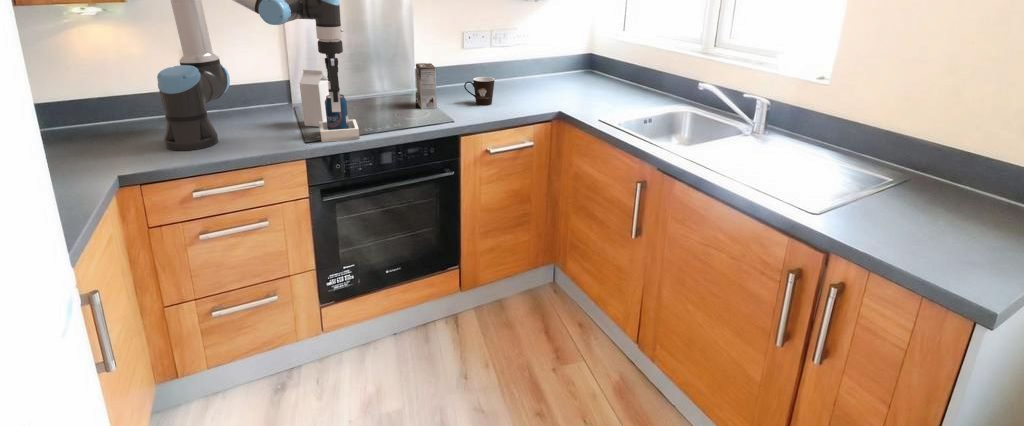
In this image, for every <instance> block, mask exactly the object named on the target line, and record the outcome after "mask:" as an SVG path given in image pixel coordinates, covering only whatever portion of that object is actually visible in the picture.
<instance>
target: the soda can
mask: <svg viewBox="0 0 1024 426" xmlns="http://www.w3.org/2000/svg"><path fill="white" fill-rule="evenodd" d="M340 105H341V112H332V105H331V95H327V96H326V100H325V109H326V118H327V127H328V130H338V129H349V122H348V120H349V113H348V103H347V99H346V97H345V95H344V94H340Z"/></svg>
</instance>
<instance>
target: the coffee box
mask: <svg viewBox="0 0 1024 426" xmlns="http://www.w3.org/2000/svg"><path fill="white" fill-rule="evenodd" d="M436 70H437V69H436V66H434V65H433V63H431V62H429V63H423V62H422V63H421V62H419V63H415V74H416V75H415V76H416V87H417V88H416V90H417V92H416V93H417V104H418V107H420V109H421V110H429V109H437V105H438V104H437V75H436V74H437V71H436Z"/></svg>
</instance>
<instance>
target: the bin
mask: <svg viewBox="0 0 1024 426" xmlns="http://www.w3.org/2000/svg"><path fill="white" fill-rule="evenodd" d="M348 122H349V129H338V130H328V127H327V121H324V122H319V126H320V127H319V133H320V138H321V142H322V143H328V142H341V141H351V140H354V141H355V140H360V130H359V126H358V123H357V120H356V119H348Z"/></svg>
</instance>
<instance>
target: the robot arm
mask: <svg viewBox="0 0 1024 426" xmlns="http://www.w3.org/2000/svg"><path fill="white" fill-rule="evenodd" d="M232 1H233V2H235V3H236V4H238V5H240V6H242V7H244V8H246V9H247V10H250V11H252V12H254V13H256V14H258V15H259V17H260V18H261V19H262V20H263V22H265V23H266V24H268V25H271V26H280V25H285V24H286V23H289V22H292V21H295V20H313V21H314V20H315V21H314V22H315V31H316V38H317V50H318V53H319V54H322V55H325V57H324V64H325V68H326V73H327V74H326V75H327V76H326V78H327V79H328V88H329V89H328V91H329V95H331V105H332V112H341V105H340V85H339V84H340V80H339V59H338V57H336V54H337V55H338V54H342V53H343V52H344V48H343V41H342V38H343V35H342V33H343V32H344V29H343V28H342V23H341V3H340V0H232ZM170 4H171V8H172V13H173V17H174V20H175V26H176V30H177V35H178V37H179V38H178V39H179V43H180V47H181V50H182V51H181V52H182V57H181V58H180V59H179V65H175V66H169V67H166V68H163V69H162V70H160V71H159V72H158V73H157V75H156V79H157V87H158V90H159V95H160V98H161V99H160V100H161V103H162V107H163V112H164V116H165V122H166V124H165V131H164V138H163V141H164V146H165V148H166V149H168V150H172V151H195V150H201V149H205V148H209V147H212V146H214V145H216V144H217V143H219V136H218V133H217V131H216V129H215V127H214V125H213V124H212V122H211V121H210V118H209V116H208V111H207V105H206V104H208V103H210V102H211V101H214V100H215V101H216V99H220V97H223V95H224V94H225V93H227V91H228V90H229V88H230V82H231V80H230V74H229V72H228V69H226V67H224V66H223V64H222V63H221V61H220V58H219V57H220V56H218V55H216V54H215V53H214V52H213V48H212V43H211V38H210V33H209V28H208V24H207V19H206V16H205V11H204V7H203V2H202V0H170Z"/></svg>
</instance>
